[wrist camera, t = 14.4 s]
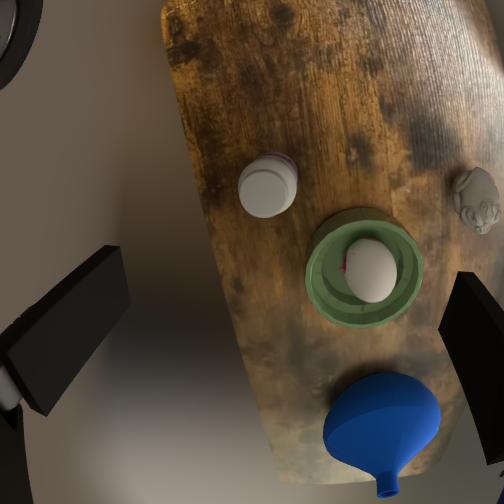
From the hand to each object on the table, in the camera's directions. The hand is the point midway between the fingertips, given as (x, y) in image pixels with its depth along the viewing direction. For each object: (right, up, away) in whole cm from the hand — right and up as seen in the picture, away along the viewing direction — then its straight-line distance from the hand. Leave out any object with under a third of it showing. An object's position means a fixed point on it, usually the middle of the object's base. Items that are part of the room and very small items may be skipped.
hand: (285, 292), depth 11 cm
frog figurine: (+24, +9, +19) cm, 32 cm away
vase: (+20, -22, +34) cm, 45 cm away
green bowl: (+12, +1, +25) cm, 28 cm away
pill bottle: (+1, +10, +23) cm, 25 cm away
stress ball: (+12, +1, +25) cm, 27 cm away
